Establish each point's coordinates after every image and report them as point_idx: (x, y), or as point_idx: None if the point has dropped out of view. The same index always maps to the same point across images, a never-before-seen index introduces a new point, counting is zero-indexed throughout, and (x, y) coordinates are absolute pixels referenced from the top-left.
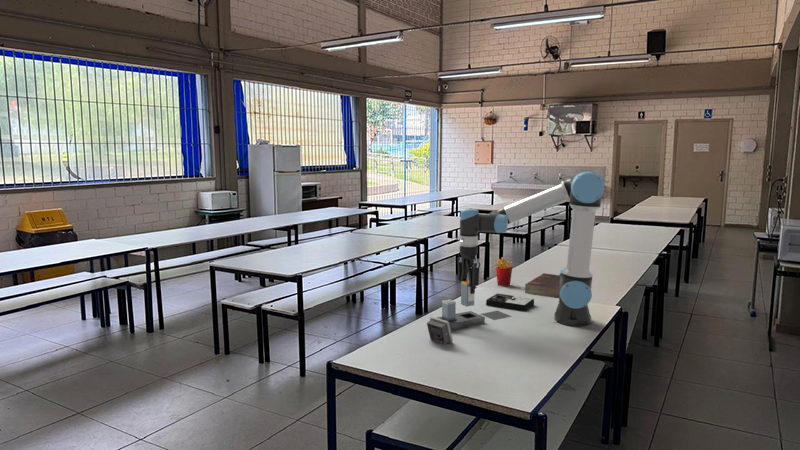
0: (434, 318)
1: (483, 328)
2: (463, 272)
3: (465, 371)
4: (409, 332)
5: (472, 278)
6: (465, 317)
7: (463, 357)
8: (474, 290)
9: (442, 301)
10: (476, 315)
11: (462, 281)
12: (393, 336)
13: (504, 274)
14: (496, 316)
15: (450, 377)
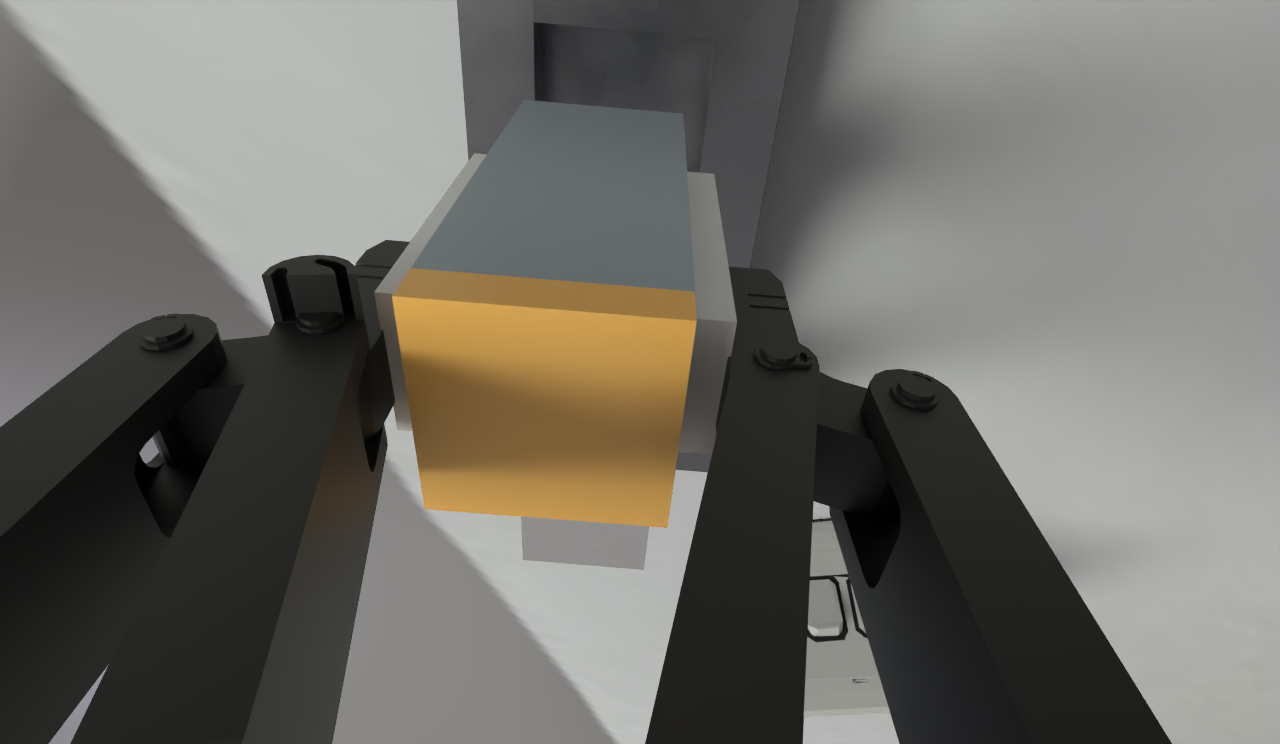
0: (817, 715)
1: (893, 94)
2: (333, 710)
3: (1239, 671)
4: (561, 581)
5: (876, 655)
6: (541, 82)
7: (1130, 593)
8: (788, 316)
9: (532, 552)
10: (678, 15)
11: (440, 494)
12: (572, 657)
13: None
14: None
15: (1199, 728)
